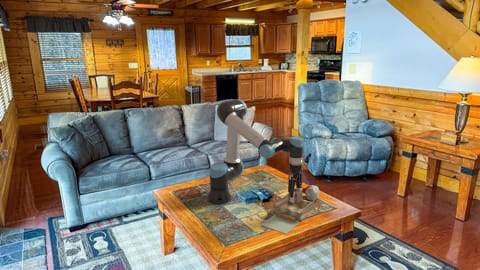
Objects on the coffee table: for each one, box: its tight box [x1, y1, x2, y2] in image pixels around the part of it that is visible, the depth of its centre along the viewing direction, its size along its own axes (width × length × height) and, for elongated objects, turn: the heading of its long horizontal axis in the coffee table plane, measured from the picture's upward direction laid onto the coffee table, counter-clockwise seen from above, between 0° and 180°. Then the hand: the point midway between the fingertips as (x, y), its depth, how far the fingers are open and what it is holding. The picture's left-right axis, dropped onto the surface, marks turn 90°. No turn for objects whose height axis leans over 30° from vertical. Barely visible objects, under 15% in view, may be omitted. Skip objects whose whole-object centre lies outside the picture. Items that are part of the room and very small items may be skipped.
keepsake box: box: [273, 193, 316, 223], centre depth 195 cm, size 18×17×6 cm
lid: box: [261, 212, 301, 235], centre depth 182 cm, size 16×16×3 cm
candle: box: [301, 184, 320, 202], centre depth 213 cm, size 9×11×15 cm
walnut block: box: [287, 189, 303, 204], centre depth 193 cm, size 6×6×6 cm
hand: (294, 199), depth 194 cm, fingers closed on walnut block, 6 cm apart
